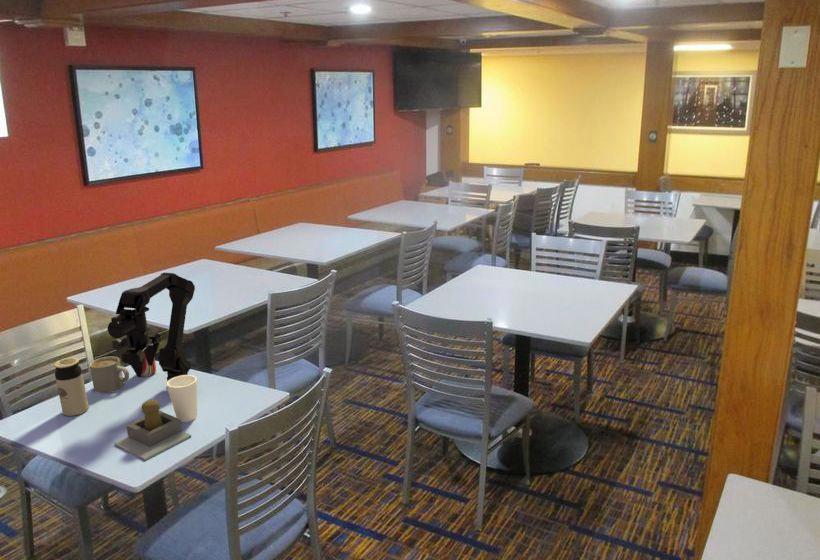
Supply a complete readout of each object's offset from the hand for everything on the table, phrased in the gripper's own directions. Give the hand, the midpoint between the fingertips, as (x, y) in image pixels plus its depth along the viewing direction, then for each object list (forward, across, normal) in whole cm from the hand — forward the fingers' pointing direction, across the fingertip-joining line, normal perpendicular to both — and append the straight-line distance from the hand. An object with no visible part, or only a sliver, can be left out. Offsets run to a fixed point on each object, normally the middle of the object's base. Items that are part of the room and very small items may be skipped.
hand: (145, 371), depth 224 cm
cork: (+13, +20, +9) cm, 25 cm away
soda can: (+13, -27, -12) cm, 32 cm away
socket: (+13, +23, +10) cm, 28 cm away
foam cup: (+13, +8, +15) cm, 22 cm away
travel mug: (+13, +2, -25) cm, 28 cm away
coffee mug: (+13, -15, -20) cm, 28 cm away
